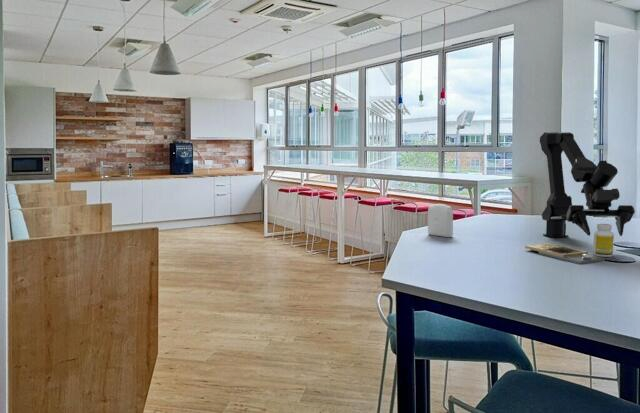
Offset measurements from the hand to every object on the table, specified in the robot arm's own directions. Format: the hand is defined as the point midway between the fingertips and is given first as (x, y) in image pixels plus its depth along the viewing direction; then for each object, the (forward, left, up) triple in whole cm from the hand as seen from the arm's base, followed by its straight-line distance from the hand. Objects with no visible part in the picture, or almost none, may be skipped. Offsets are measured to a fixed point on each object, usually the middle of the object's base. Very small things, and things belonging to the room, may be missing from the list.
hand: (605, 235), depth 164 cm
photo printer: (-24, +54, -7) cm, 59 cm away
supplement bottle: (+1, +1, -7) cm, 7 cm away
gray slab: (-10, +7, -7) cm, 14 cm away
